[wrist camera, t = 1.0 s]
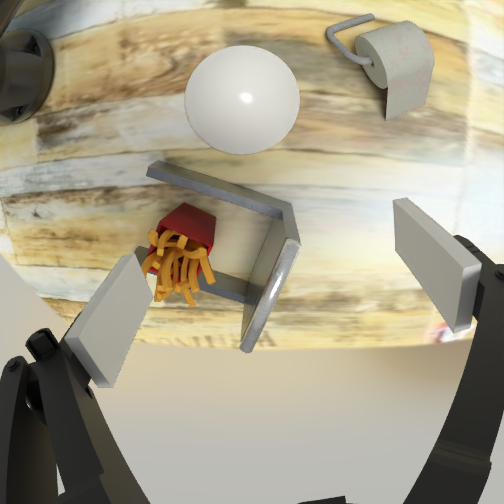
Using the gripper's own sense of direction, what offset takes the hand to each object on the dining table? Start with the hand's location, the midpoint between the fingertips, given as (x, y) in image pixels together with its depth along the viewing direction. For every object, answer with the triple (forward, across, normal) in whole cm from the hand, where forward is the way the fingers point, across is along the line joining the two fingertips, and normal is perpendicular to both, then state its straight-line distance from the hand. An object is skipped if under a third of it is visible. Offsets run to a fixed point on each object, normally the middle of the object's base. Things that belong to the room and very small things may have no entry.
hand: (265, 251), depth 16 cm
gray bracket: (+27, -11, -7) cm, 30 cm away
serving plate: (+27, -1, +8) cm, 28 cm away
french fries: (+27, -11, -8) cm, 31 cm away
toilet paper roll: (+30, +18, +6) cm, 36 cm away
